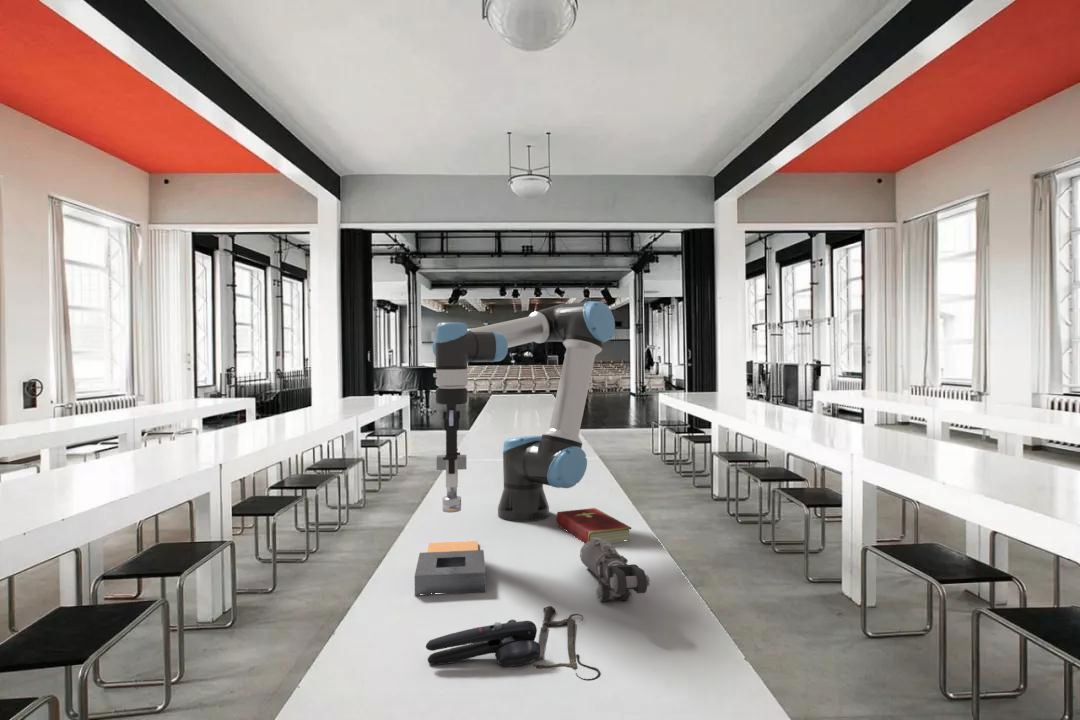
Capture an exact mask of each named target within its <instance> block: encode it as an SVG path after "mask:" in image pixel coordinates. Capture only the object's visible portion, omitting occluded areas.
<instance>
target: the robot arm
mask: <svg viewBox="0 0 1080 720" xmlns="http://www.w3.org/2000/svg"><path fill="white" fill-rule="evenodd" d="M615 322H616V321H615V318H614V315H613V312H612V310H611V309H610V307H609V306H608V305H607V304H606V303H604V302H602V301H592V300H588V301H584V302H583V301H582V302H581V301H580V302H571V303H560V304H557V305H553V306H549V307H548V308H544V309H540V310H536V311H533V312H531V313H530V314H529V315H528V316H526V317H522V318H521V317H520V318H516V319H511V320H506V321H501V322H498V323H492V324H488V325H483V326H479V327H473V328H469V329H468V325H467V324H466V322H453V321H452V322H449V321H448V322H439V323H438V324H437V325H436V327H435V338H434V340H433V342H432V353H433V354H434V357H435V372H434V373H433V374H432V376H433V378H435V385H436V386H437V387H438V388H436V389H435V403H436V404H438V405H446V410H444V411H443V413H442V416H443V417H442V419H443V421H444V422H443V423H444V424H443V427H444V431H445V455H446V457H443V460H446V470H445V488H447V487H457V488H458V487H459V486H458V484H459V479H458V477H459V471H458V468H457V455H461V452H458V450H459V448H458V431H459V429H460V418H461V411H460V410H457V409H458V408H457V406H458V405H465V404H467V403H468V388H467V387H466V386H468V383H469V382H468V373H469V372H468V369H469V368H468V363H494V362H501V361H503V360H504V359H505V358H506V357H507V354H508V351H509V348H513V347H517V346H522V345H525V344H529V343H536V344H542V343H549V342H551V343H552V342H553V343H554V342H555V343H556V342H557V343H558V342H559V343H562V344H563V346H564V347H565V349H566V350H565V354H564V359H563V363H562V369H561V372H560V375H559V376H560V377H559V383H558V387H557V391H556V395H555V400H554V403H553V410H552V413H551V419H550V422H549V428H548V429H547V430H546V431H545V432H543V433H542V434H541V435H528V436H526V435H525V436H516V437H510V438H507V439H505V440H504V442H503V451H502V459H503V460H502V461H503V463H502V464H503V467H502V468H503V471H502V472H503V490H502V493H501V497H500V500H499V503H498V506H497V516H498V517H499V518H500V519H503V520H507V521H514V522H532V521H538V520H542V519H545V518H547V517H549V515H550V506H549V503H548V500H547V497H546V493H545V490H544V485H545V486H548V487H549V486H550V487H552V488H556V489H561V488H562V489H571V488H573V487H575V486H576V485H577V484H579V483H580V482H581V480H582V479H583V478H584V476H585V474H586V471H587V466H588V459H587V455H586V452H585V451H584V450H583V449H582V447H583V441H582V440H581V438H580V436H579V435H580V431H581V425H582V422H583V421H582V420H583V417H584V411H585V406H586V401H587V396H588V391H589V389H590V388H589V387H590V381H591V379H592V373H593V369H594V364H595V359H596V356H597V355H598V354H599V353H602V351H603V346H604V343H606V342H607V341H608V342H609V340H611V339H612V338H613V336H614V334H615V329H616V328H615V327H616V323H615Z"/></svg>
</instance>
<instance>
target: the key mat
mask: <svg viewBox="0 0 1080 720" xmlns="http://www.w3.org/2000/svg"><path fill="white" fill-rule="evenodd" d="M471 550H479V543H478V540H474V541H473V540H472V541H469V540H468V541H467V540H466V541H448V542H445V541H444V542H428V547H427V551H426V552H448V551H471Z"/></svg>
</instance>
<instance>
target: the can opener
mask: <svg viewBox="0 0 1080 720" xmlns="http://www.w3.org/2000/svg"><path fill="white" fill-rule="evenodd" d="M537 631H538V628H537V625H536V624H535V622H533V621H531V620H521V621H517V620H515V619H510V620H508V621H507V622H505V623H502V622H499V621H497V622H496V621H495V623H494V624H491V625H485V626H478V627H473V628H470V629H465V630H461V631H457V632H452V633H449V634H445V635H442V636H439V637H436V638H432V639H430V640H428V642H427V643H426V645H425V648H426V650H428V651H436V652H433V653H431V654H429V656H428V657H427V662H428V664H430V665H445V664H451V663H456V662H461V661H465V660H468V659H472V658H475V657H480V656H484V655H489V654H494V656H495V658H496V660H497V662H498V663H499V665H501V666H504V667H516V666H522V665H526V664H528V663H531V662H533V661H536V659H537V658H538V657H539V655H540V645H539V642H537V641H536V637H537V634H538V633H537ZM437 650H438V651H437ZM439 650H440V651H439Z"/></svg>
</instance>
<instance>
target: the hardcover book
mask: <svg viewBox="0 0 1080 720" xmlns="http://www.w3.org/2000/svg"><path fill="white" fill-rule="evenodd" d="M555 516H556V517H555V518H556V519H555V522H556V525H557V524H558V525H559V526H558V525H557V526H558V527H560V526H561V527H562V528H561V527H560V528H561V529H563V530H564V529H565V530H564V531H566V530H567V531H568V532H567V531H566V532H567V533H568V534H570V533H571V534H572V536H573V537H574V536H575V537H574V538H576V539H577V538H578V539H577V540H579V541H580V540H581V541H580V542H581V543H583V542H584V543H583V544H586V543H587V542H590V541H591V538H601V539H603V540H604V541H607V542H609V543H610V544H613V543H612V542H618V543H620V542H619V541H624V540H629V541H630V530H632V527H631V526H629V525H627V524H625V523H624V522H622V521H621V520H619V519H617V518H615V517H612V516H611V515H609V514H607V513H605V512H604V511H601V510H600V509H598V508H597V507H591V508H581V509H574V510H573V509H572V510H563V511H557V513H556V515H555ZM571 534H570V535H571Z"/></svg>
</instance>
